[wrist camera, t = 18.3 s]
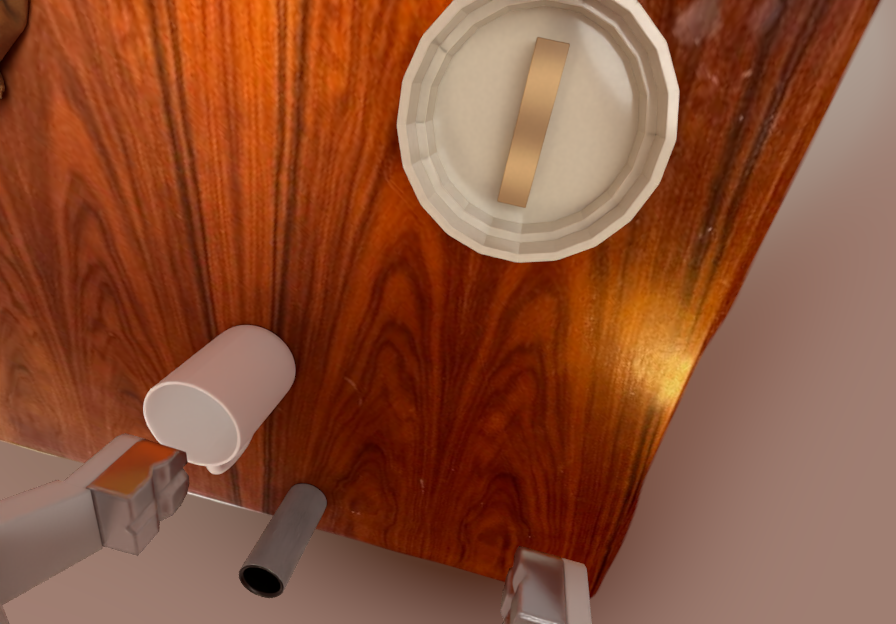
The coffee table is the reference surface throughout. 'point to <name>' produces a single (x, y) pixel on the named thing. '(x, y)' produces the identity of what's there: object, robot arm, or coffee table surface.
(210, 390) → the cup
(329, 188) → the coffee table surface
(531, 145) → the tan wooden bar
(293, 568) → the grey hollow cylinder
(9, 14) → the stuffed squirrel
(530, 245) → the bowl
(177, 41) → the coffee table surface
